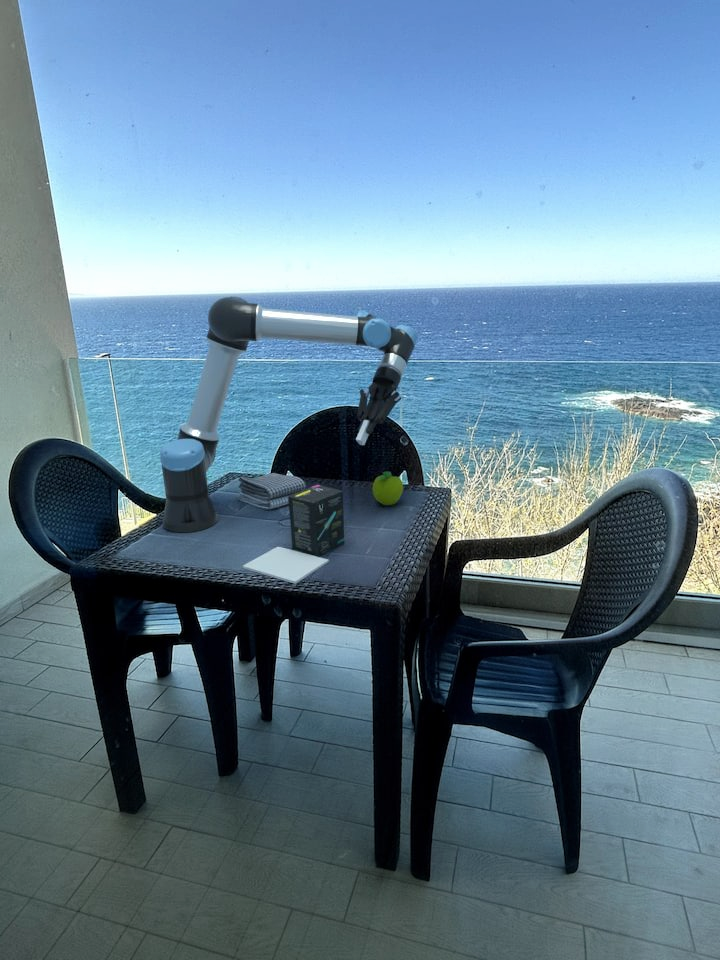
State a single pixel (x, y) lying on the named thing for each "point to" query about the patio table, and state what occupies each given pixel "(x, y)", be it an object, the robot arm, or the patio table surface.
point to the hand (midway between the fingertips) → (360, 442)
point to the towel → (269, 490)
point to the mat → (286, 564)
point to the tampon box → (316, 519)
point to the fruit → (387, 488)
